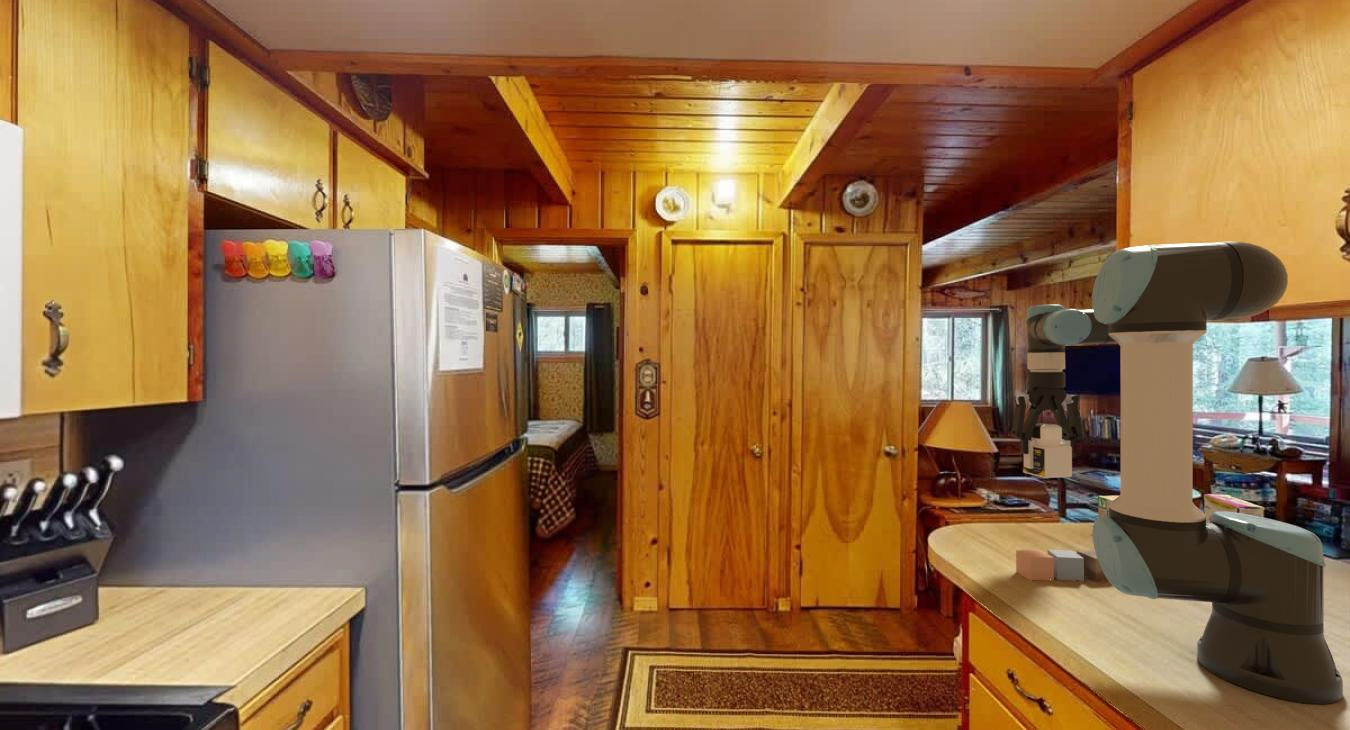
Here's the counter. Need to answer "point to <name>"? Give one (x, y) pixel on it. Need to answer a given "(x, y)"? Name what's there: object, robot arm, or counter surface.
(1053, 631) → the counter surface
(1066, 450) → the medicine bottle
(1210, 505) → the candy bar box
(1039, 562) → the terracotta cube
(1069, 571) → the slate blue cube
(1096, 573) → the walnut cube
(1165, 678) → the counter surface
